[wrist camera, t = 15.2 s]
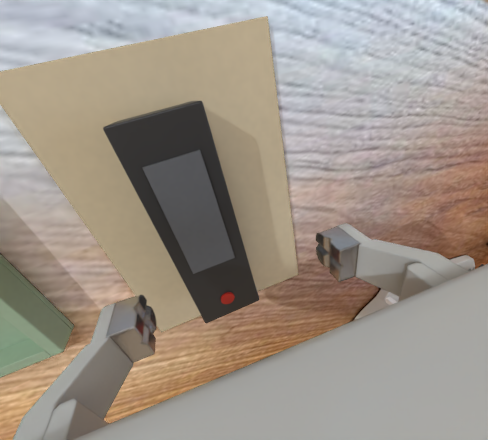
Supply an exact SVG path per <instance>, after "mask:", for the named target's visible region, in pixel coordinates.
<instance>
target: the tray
mask: <svg viewBox="0 0 488 440" xmlns="http://www.w3.org/2000/svg"><path fill="white" fill-rule="evenodd" d="M73 327H74V325H73V324H72V323H71V322H70V321H69V320H68V319H67V318H66V317H65V316H64V315H63V314H62V313H61V312H60V311H59V310H58V309H56V308H55V307H54V306H53V305H52V304H51V303H50V302H49V301H48V300H47V299H46V298H45V297H44V296H43V295H42V294H41V293H40V292H39V291H38V290H37V289H36V288H35V287H34V286H33V285H32V284H31V283H30V282H29V281H28V280H27V279H26V278H24V277H23V276H22V275H21V274H20V273H19V272H18V271H17V270H16V269H15V268H14V267H13V266H12V265H11V264H10V263H9V262H8V261H7V260H6V259H5V258H4V257H3V256H2V255H1V254H0V377H3V376H5V375H8V374H10V373H12V372H15V371H17V370H20V369H22V368H25V367H27V366H30V365H32V364H35V363H37V362H40V361H42V360H44V359H47V358H49V357H51V356H54V355H56V354H59V353H61V352H63V351H64V349H65V347H66V344H67V342H68V339H69V337H70V334H71V332H72V330H73Z"/></svg>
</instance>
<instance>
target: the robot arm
mask: <svg viewBox="0 0 488 440" xmlns="http://www.w3.org/2000/svg"><path fill="white" fill-rule="evenodd" d="M316 241H317V242H318V243H319V244H318V246H317V247H316V252H317V256H318V259H319V260H320V262H321V263H322V264H323V265H324V266H325V267H328V268H330V273H331V274H332V275H333V276H334V277H335V278H336V280H337V281H338V282H340V281H343V280H346V279H349V278H352V277H354V276H356V277H357V278H359V279H361V280H363V281H366V282H368V283H370V284H372V285H375V286H377V287H379V288H381V290H380V291H379V293H378V294H377V296H376V297H375V298H374V299H373V300H372V301H371V302H370V303H369V304H368V305H367V306H366V307H365V308H364V309H363V310H362V311H361V312H360V313H359V314H358V315H357V316H356V318H355V319H354V320H353V321H352V322H349V323H347V324H344V325H342V326H340V327H337V328H335V329H333V330H330V331H328V332H326V333H323V334H321V335H319V336H316V337H314V338H311V339H309V340H307V341H304V342H302V343H300V344H297V345H295V346H293V347H290V348H288V349H286V350H283V351H281V352H278V353H276V354H274V355H271V356H269V357H267V358H264V359H262V360H260V361H257V362H255V363H252V364H250V365H248V366H245V367H243V368H241V369H238V370H236V371H234V372H231V373H229V374H226V375H224V376H222V377H219V378H217V379H215V380H212V381H210V382H208V383H205V384H203V385H200V386H198V387H196V388H193V389H191V390H189V391H186V392H184V393H182V394H179V395H177V396H174V397H172V398H170V399H167V400H165V401H163V402H160V403H158V404H156V405H153V406H151V407H148V408H146V409H144V410H141V411H139V412H137V413H134V414H132V415H130V416H127V417H125V418H122V419H120V420H118V421H115V422H113V423H111V424H109V423H108V422H106V421H105V420H103V419H104V417H105V416H106V414H107V412H108V410H109V408H110V406H111V405H112V403H113V401H114V399H115V397H116V395H117V393H118V392H119V390H120V388H121V386H122V384H123V382H124V381H125V379H126V377H127V375H128V373H129V371H130V369H131V368H132V366H133V363H134V362H136V361H139V360H141V359H143V358H146V357H148V356H150V355H153V354H155V342H156V338H155V337H154V335H153V333H154V331H155V330H156V323H157V322H156V316H155V313H154V311H153V309H152V307H150V306H148V305H146V304H147V299H146V298H145V297H144V295H138V296H135V297H132V298H129V299H126V300H122V301H119V302H117V303H114V304H111V305H108V306H105V307H104V308H103V309H102V310H101V313H100V316H99V319H98V322H97V325H96V328H95V331H94V334H93V337H92V340H91V343H90V344H88V345H86V346H85V347H84V348H83V349H82V351H81V352H80V353H79V354H78V355H77V356H76V357H75V359H74V360H73V361H72V362H71V363H70V364H69V365H68V367H67V368H66V369H65V370H64V371H63V372H62V373H61V374H60V376H59V377H58V378H57V379H56V380H55V381H54V382H53V384H52V385H51V386H50V387H49V388H48V389H47V390H46V392H45V393H44V394H43V395H42V396H41V397H40V398H39V400H38V401H37V402H36V403H35V404H34V405H33V406H32V408H31V409H30V410H29V411H28V412H27V413H26V414H25V416H24V417H23V418H22V420H21V423H20V425H19V427H18V429H17V431H16V433H15V436H14V438H13V440H488V264H486V265H483V264H481V265H480V266H479V267H478V268H477V269H475V262H474V260H473V259H472V258H471V257H469V256H468V255H464V256H460V257H457V258H453V259H450V260H449V259H447V258H445V257H443V256H442V255H440V254H438V253H435V252H430V251H426V250H421V249H417V248H412V247H408V246H403V245H399V244H394V243H390V242H385V241H381V240H376V239H374V240H371V239H370V238H368V237H367V236H365V235H364V234H362V233H361V232H360V231H358V230H357V229H355V228H354V227H352V226H351V225H349V224H347V223H344V224H341V225H339V226H336V227H334V228H331V229H328V230H325V231H323V232H320V233H317V235H316Z"/></svg>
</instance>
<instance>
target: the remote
mask: <svg viewBox="0 0 488 440" xmlns="http://www.w3.org/2000/svg"><path fill="white" fill-rule="evenodd" d="M103 130H104V132H105V134H106V136H107V138H108V140H109V142H110V144H111V145H112V147H113V149H114V151H115V153H116V155H117V157H118V159H119V161H120V162H121V164H122V166H123V168H124V170H125V172H126V174H127V176H128V178H129V180H130V181H131V183H132V185H133V187H134V189H135V191H136V193H137V195H138V197H139V198H140V200H141V202H142V204H143V206H144V208H145V210H146V212H147V214H148V215H149V217H150V219H151V221H152V223H153V225H154V227H155V229H156V231H157V233H158V234H159V236H160V238H161V240H162V242H163V244H164V246H165V248H166V250H167V251H168V253H169V255H170V257H171V259H172V261H173V263H174V265H175V267H176V268H177V270H178V272H179V274H180V276H181V278H182V280H183V282H184V284H185V286H186V287H187V289H188V291H189V293H190V295H191V297H192V299H193V301H194V303H195V304H196V306H197V308H198V310H199V312H200V314H201V316H202V318H203V320H204V321H205V323H208V322H210V321H213V320H215V319H217V318H219V317H222V316H224V315H226V314H229V313H231V312H233V311H236V310H238V309H240V308H242V307H245V306H247V305H249V304H252V303H254V302H256V301H258V300H259V296H258V293H257V289H256V286H255V282H254V279H253V275H252V272H251V269H250V265H249V262H248V258H247V255H246V251H245V248H244V244H243V241H242V237H241V234H240V230H239V227H238V223H237V220H236V216H235V213H234V209H233V206H232V202H231V199H230V195H229V192H228V188H227V185H226V181H225V178H224V174H223V171H222V168H221V164H220V161H219V157H218V154H217V150H216V147H215V143H214V140H213V136H212V133H211V129H210V126H209V122H208V119H207V115H206V112H205V108H204V105H203V102H202V101H190V102H186V103H182V104H179V105H175V106H171V107H168V108H164V109H160V110H157V111H153V112H149V113H146V114H142V115H138V116H135V117H131V118H127V119H123V120H120V121H117V122H114V123H112V124H110V125H107V126H105V127H103Z"/></svg>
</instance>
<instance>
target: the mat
mask: <svg viewBox="0 0 488 440" xmlns="http://www.w3.org/2000/svg"><path fill="white" fill-rule="evenodd" d="M190 101H202V102H203V105H204V108H205V112H206V115H207V119H208V122H209V126H210V129H211V133H212V136H213V140H214V143H215V147H216V150H217V154H218V157H219V161H220V164H221V168H222V171H223V174H224V178H225V181H226V185H227V188H228V192H229V195H230V199H231V202H232V206H233V209H234V213H235V216H236V220H237V223H238V227H239V230H240V234H241V237H242V241H243V244H244V248H245V251H246V255H247V258H248V262H249V265H250V269H251V272H252V275H253V279H254V282H255V286H256V289H257V292H258V291H261V290H263V289H265V288H268V287H270V286H273V285H275V284H277V283H280V282H282V281H284V280H287V279H289V278H291V277H294V276H296V275H298V266H297V258H296V250H295V241H294V233H293V225H292V216H291V208H290V200H289V191H288V183H287V175H286V166H285V158H284V150H283V141H282V133H281V125H280V116H279V108H278V100H277V91H276V83H275V75H274V66H273V58H272V50H271V41H270V33H269V25H268V17H267V16H266V17H261V18H256V19H252V20H247V21H242V22H237V23H232V24H227V25H223V26H218V27H213V28H208V29H203V30H198V31H194V32H189V33H184V34H179V35H174V36H169V37H165V38H160V39H155V40H150V41H145V42H140V43H136V44H131V45H126V46H121V47H116V48H111V49H107V50H102V51H97V52H92V53H87V54H82V55H78V56H73V57H68V58H63V59H58V60H53V61H49V62H44V63H39V64H34V65H29V66H24V67H20V68H15V69H10V70H5V71H0V104H1V106H2V107H3V109H4V110H5V112H6V113H7V114H8V116H9V117H10V119H11V120H12V121H13V123H14V124H15V126H16V127H17V129H18V130H19V131H20V133H21V134H22V136H23V137H24V138H25V140H26V141H27V143H28V144H29V146H30V147H31V148H32V150H33V151H34V153H35V154H36V155H37V157H38V158H39V160H40V161H41V163H42V164H43V165H44V167H45V168H46V170H47V171H48V172H49V174H50V175H51V177H52V178H53V180H54V181H55V182H56V184H57V185H58V187H59V188H60V189H61V191H62V192H63V194H64V195H65V197H66V198H67V199H68V201H69V202H70V204H71V205H72V206H73V208H74V209H75V211H76V212H77V214H78V215H79V216H80V218H81V219H82V221H83V222H84V223H85V225H86V226H87V228H88V229H89V231H90V232H91V233H92V235H93V236H94V238H95V239H96V240H97V242H98V243H99V245H100V246H101V248H102V249H103V250H104V252H105V253H106V255H107V256H108V257H109V259H110V260H111V262H112V263H113V265H114V266H115V267H116V269H117V270H118V272H119V273H120V274H121V276H122V277H123V279H124V280H125V281H126V283H127V284H128V286H129V287H130V289H131V290H132V291H133V293H134V294H135V296H138V295H144V297H145V298H146V299H147V304H146V305H148V306H150V307H152V309H153V311H154V313H155V316H156V322H157V323H156V325H157V327H158V328H159V330H160V331H161V332H164V331H166V330H168V329H171V328H173V327H175V326H178V325H180V324H183V323H185V322H187V321H190V320H192V319H194V318H197V317H199V316H201V314H200V312H199V310H198V308H197V306H196V304H195V303H194V301H193V299H192V297H191V295H190V293H189V291H188V289H187V287H186V286H185V284H184V282H183V280H182V278H181V276H180V274H179V272H178V270H177V268H176V267H175V265H174V263H173V261H172V259H171V257H170V255H169V253H168V251H167V250H166V248H165V246H164V244H163V242H162V240H161V238H160V236H159V234H158V233H157V231H156V229H155V227H154V225H153V223H152V221H151V219H150V217H149V215H148V214H147V212H146V210H145V208H144V206H143V204H142V202H141V200H140V198H139V197H138V195H137V193H136V191H135V189H134V187H133V185H132V183H131V181H130V180H129V178H128V176H127V174H126V172H125V170H124V168H123V166H122V164H121V162H120V161H119V159H118V157H117V155H116V153H115V151H114V149H113V147H112V145H111V144H110V142H109V140H108V138H107V136H106V134H105V132H104V130H103V127H105V126H107V125H110V124H112V123H114V122H117V121H120V120H123V119H127V118H131V117H135V116H138V115H142V114H146V113H149V112H153V111H157V110H160V109H164V108H168V107H171V106H175V105H179V104H182V103H186V102H190Z"/></svg>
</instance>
